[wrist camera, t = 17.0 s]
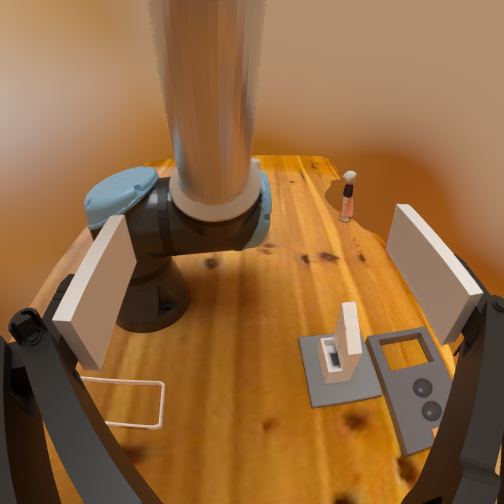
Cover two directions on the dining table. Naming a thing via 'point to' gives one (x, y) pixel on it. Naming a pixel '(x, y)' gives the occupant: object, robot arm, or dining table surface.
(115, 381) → the phone case
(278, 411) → the dining table surface
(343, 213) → the grandmother figurine
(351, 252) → the dining table surface
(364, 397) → the rubber mat
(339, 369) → the white wedge bracket
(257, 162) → the usb wall charger
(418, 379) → the grey control panel
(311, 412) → the dining table surface
